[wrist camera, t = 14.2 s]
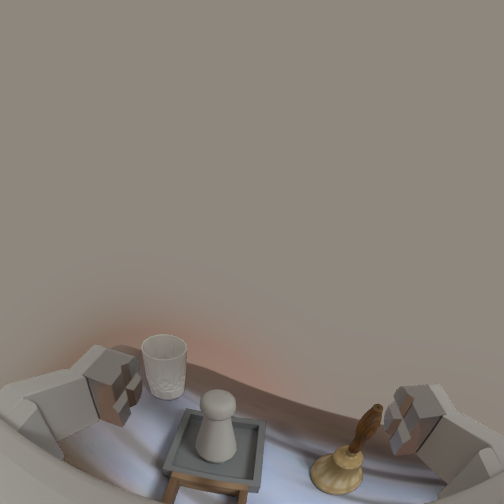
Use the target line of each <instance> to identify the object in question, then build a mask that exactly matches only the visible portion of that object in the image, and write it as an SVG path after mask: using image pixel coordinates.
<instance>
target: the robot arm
mask: <svg viewBox="0 0 504 504" xmlns="http://www.w3.org/2000/svg"><path fill="white" fill-rule="evenodd" d="M139 368H140V364H139V359H138V358H137V357H135V356H132V355H129V354H126V353H122V352H119V351H116V350H113V349H109V348H106V347H103V346H100V345H93V346H92V347H91V348H90V349H89V350H88V351H87V352H86V353H85V354H84V355H83V356H82V357H81V358H80V359H79V360H78V361H77V362H76V363H75V364H74V365H73V366H72V367H71V368H70V369H69V370H67V369H62V370H58V371H54V372H51V373H47V374H44V375H40V376H36V377H32V378H28V379H24V380H20V381H16V382H12V383H8V384H6V385H5V386H4V387H3V388H2V389H1V390H0V504H165V503H162V502H158V501H155V500H152V499H149V498H146V497H143V496H140V495H137V494H134V493H131V492H129V491H126V490H123V489H121V488H118V487H116V486H113V485H111V484H109V483H106V482H104V481H102V480H100V479H97V478H95V477H93V476H91V475H89V474H87V473H85V472H83V471H81V470H79V469H77V468H75V467H73V466H71V465H69V464H68V463H66V462H64V461H62V460H63V458H64V454H63V452H62V450H61V449H60V447H59V446H58V444H57V442H58V441H60V440H62V439H64V438H66V437H68V436H70V435H72V434H74V433H76V432H78V431H80V430H82V429H84V428H86V427H88V426H90V425H91V424H93V423H95V422H97V421H99V419H101V420H104V421H106V422H109V423H112V424H115V425H118V426H121V427H123V426H124V424H125V423H126V421H127V419H128V418H129V416H130V414H131V411H130V407H132V406H134V405H136V404H137V403H138V401H139V399H140V396H141V393H142V378H141V377H140V375H139V374H138V373H137V371H138V370H139ZM394 399H395V401H394V402H393V403H391V404H390V405H389V406H388V408H387V410H386V412H385V416H384V427H385V430H386V432H387V433H388V434H390V435H391V436H392V437H391V439H390V441H389V442H390V445H391V448H392V451H393V454H394V456H399V455H407V454H414V453H416V455H417V456H418V457H419V458H420V459H421V460H422V461H423V462H424V463H425V464H426V465H427V466H428V467H430V468H431V469H432V470H433V471H434V472H435V473H436V474H437V475H438V476H439V477H440V478H441V479H442V480H444V481H445V482H446V483H447V484H448V485H447V486H446V487H445V488H444V489H442V490H441V491H440V492H439V494H438V495H437V496H438V499H439V500H436V501H432V502H429V503H426V504H504V437H503V436H502V435H500V434H498V433H496V432H494V431H493V430H491V429H489V428H487V427H486V426H484V425H482V424H481V423H479V422H477V421H475V420H474V419H472V418H470V417H468V416H467V415H465V414H463V413H462V412H460V413H458V412H457V410H456V409H455V407H454V406H453V404H452V402H451V401H450V399H449V398H448V396H447V394H446V393H445V391H444V390H443V389H442V387H441V386H440V385H439V384H437V383H436V384H426V385H418V386H404V387H399V388H398V389H397V390H396V392H395V394H394Z"/></svg>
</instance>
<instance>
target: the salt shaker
mask: <svg viewBox="0 0 504 504" xmlns="http://www.w3.org/2000/svg"><path fill="white" fill-rule="evenodd" d="M200 409H201V411H202V413H203V415H204V418H203V421H202V424H201V427H200V430H199V433H198V436H197V439H196V445H195V448H196V450H197V452H198V454H199V456H201V457H202V458H204V459H205V460H206V461H207V462H208V463H210V464H223V463H224V462H225V461H227V460H229V459H231V458H232V457H233V455H234V454H235V452H236V450H237V447H236V440H235V435H234V431H233V426H232V421H231V417H232V415H233V414H234V413H235V410H236V401H235V398H234V396H233V395H232V394H231V393H229V392H227V391H225V390H221V389H213V390H210V391H207V392H205V393H204V394H203V395H202V396H201V400H200Z"/></svg>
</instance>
